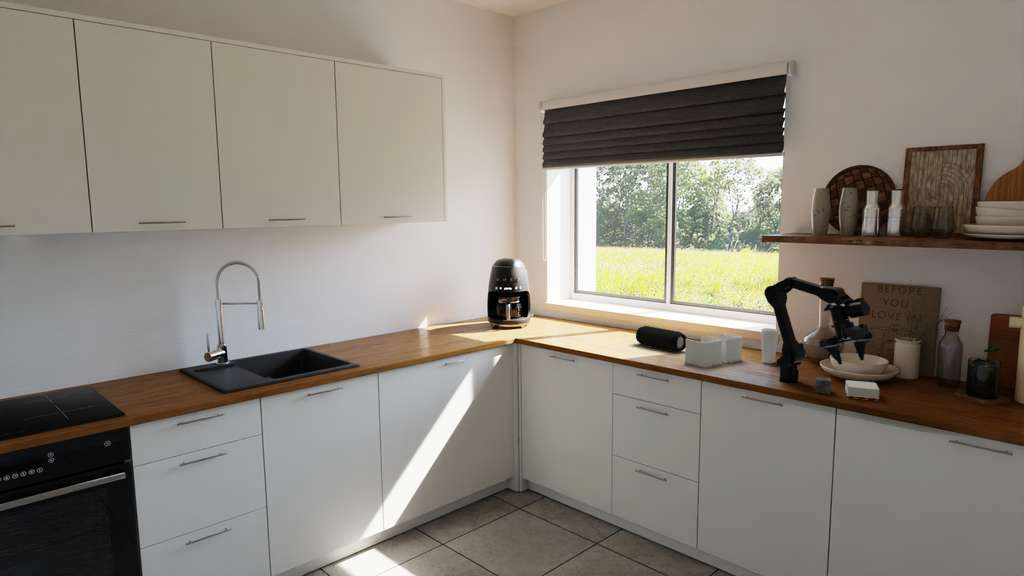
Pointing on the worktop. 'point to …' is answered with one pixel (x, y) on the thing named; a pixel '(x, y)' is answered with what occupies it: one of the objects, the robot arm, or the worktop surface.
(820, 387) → the charcoal cube
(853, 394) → the cream base block
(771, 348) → the white tumbler
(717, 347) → the storage container
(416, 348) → the worktop surface
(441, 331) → the worktop surface
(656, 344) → the portable speaker
